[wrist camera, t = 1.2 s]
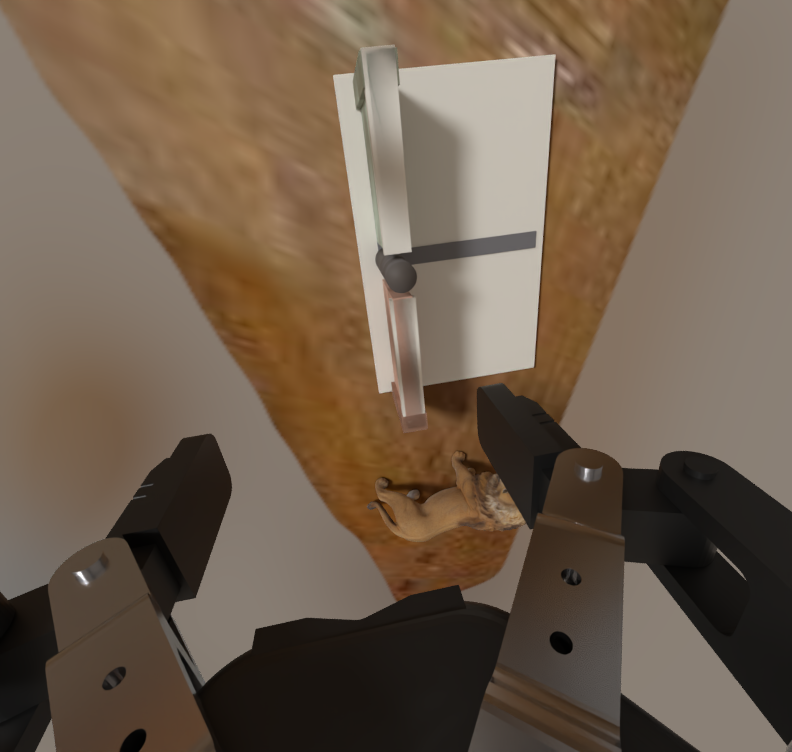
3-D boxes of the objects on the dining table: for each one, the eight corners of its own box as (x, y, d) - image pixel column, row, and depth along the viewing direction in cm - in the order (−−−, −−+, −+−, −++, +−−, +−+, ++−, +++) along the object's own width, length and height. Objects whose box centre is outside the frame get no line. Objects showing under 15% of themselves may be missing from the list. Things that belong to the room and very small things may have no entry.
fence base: (352, 79, 23) (359, 44, 17) (381, 76, 23) (398, 41, 17) (376, 273, 28) (388, 295, 23) (400, 270, 28) (418, 290, 23)
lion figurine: (491, 423, 37) (536, 489, 29) (507, 460, 39) (552, 531, 31) (355, 487, 38) (362, 568, 30) (379, 519, 40) (391, 602, 32)
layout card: (333, 76, 23) (333, 74, 23) (552, 56, 24) (556, 54, 24) (378, 391, 33) (379, 393, 33) (531, 365, 34) (534, 367, 34)
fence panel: (378, 280, 28) (388, 299, 23) (402, 276, 28) (417, 295, 23) (392, 396, 33) (403, 433, 28) (413, 393, 33) (427, 429, 28)
